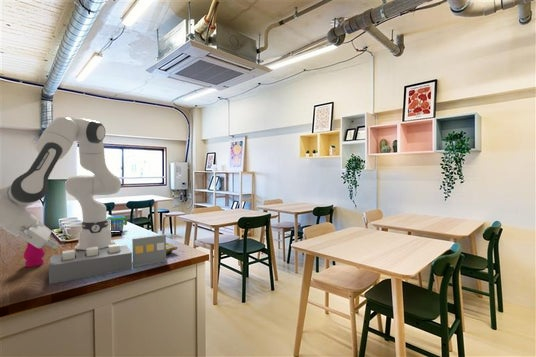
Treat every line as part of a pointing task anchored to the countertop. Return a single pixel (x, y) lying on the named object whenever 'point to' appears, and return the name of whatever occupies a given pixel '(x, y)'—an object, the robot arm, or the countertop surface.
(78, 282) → the countertop surface
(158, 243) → the card
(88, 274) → the console
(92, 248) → the key middle
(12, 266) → the countertop surface
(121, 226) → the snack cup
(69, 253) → the key left
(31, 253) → the pepper mill
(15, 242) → the countertop surface
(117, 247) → the key right
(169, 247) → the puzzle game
